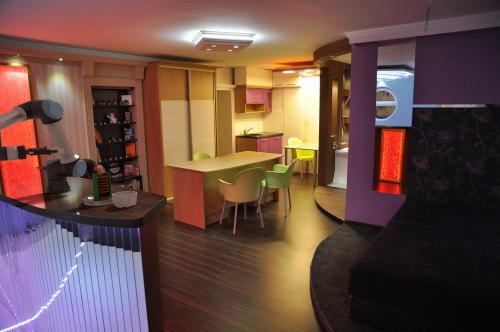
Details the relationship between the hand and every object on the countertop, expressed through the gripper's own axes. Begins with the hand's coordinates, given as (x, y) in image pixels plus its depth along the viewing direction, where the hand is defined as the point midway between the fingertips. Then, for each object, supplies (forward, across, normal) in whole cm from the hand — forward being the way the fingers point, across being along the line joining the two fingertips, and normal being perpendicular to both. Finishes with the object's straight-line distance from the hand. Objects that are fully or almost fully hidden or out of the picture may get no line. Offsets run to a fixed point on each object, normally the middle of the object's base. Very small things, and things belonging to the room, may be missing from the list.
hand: (62, 149), depth 193 cm
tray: (+18, +6, -32) cm, 37 cm away
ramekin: (+26, +24, -32) cm, 48 cm away
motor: (+18, +6, -31) cm, 36 cm away
